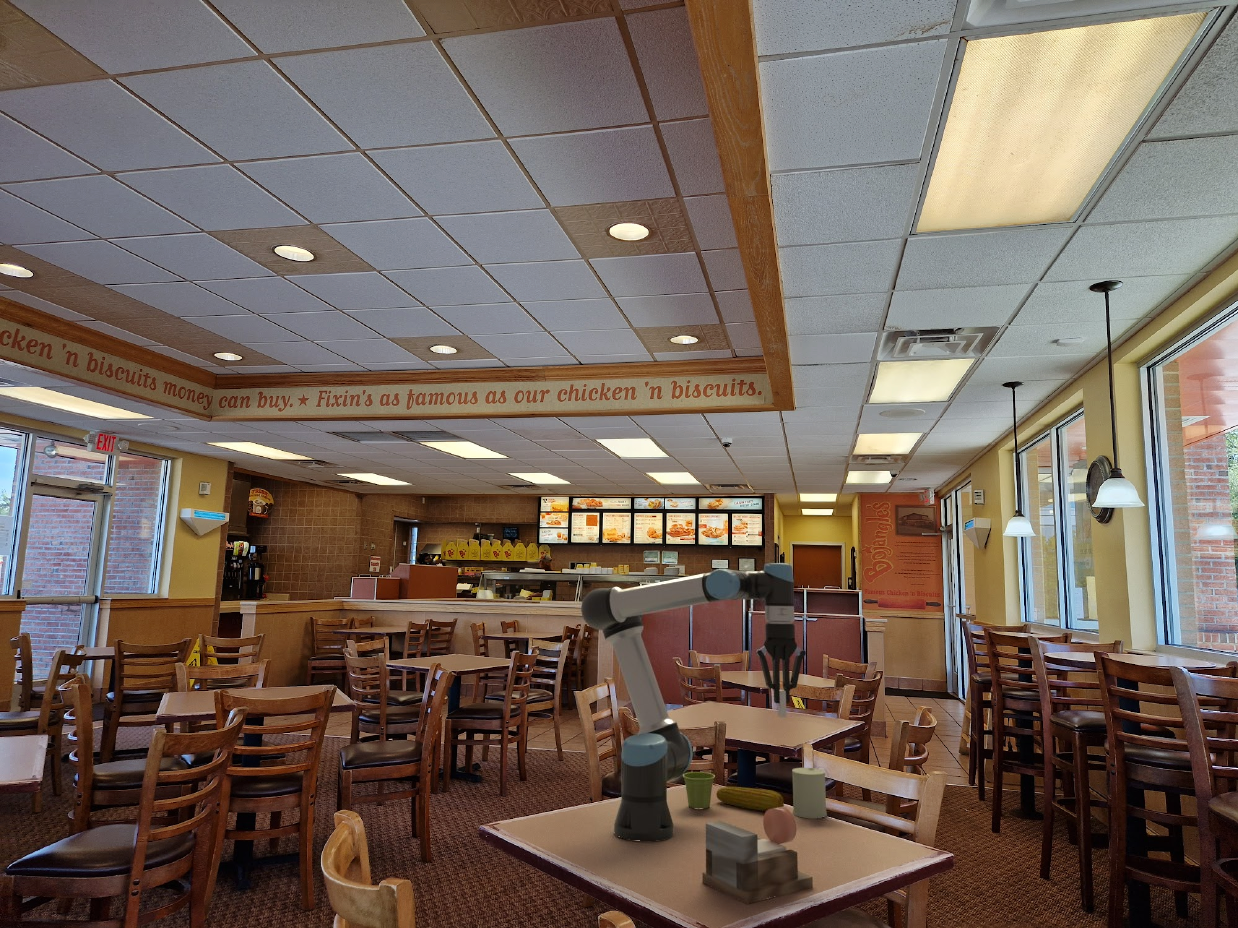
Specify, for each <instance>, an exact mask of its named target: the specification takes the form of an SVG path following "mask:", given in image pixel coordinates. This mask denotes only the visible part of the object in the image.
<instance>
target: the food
mask: <svg viewBox="0 0 1238 928" xmlns="http://www.w3.org/2000/svg"><path fill="white" fill-rule="evenodd" d="M715 795H716V798H717V799H718V800H719V801H720V802H721V803H723V804H725V805H729V804H730V805H729V806H733V805H734V806H733V807H738V806H740V807H739V808H741V807H743V809H747V810H753V811H755V810H756V811H759V812H765V813H766V811H767V810H769V809H773V808H778V807H785V804H784V797H783V796H782V795H781V794H780V793H779V792H777V791H774V790H770V789H763V788H761V789H759V788H753V787H752V788H751V787H741V786H738V787H737V786H723V787H720V788H718V789H717V791H716V794H715Z"/></svg>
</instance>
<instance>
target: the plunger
mask: <svg viewBox="0 0 1238 928" xmlns="http://www.w3.org/2000/svg"><path fill="white" fill-rule="evenodd" d="M762 822H763V829H764V833H765V835H766V837H767V839H765V838H761V839H760V840H758V856H763V855H767V854H772V853H776V852H781V851H786V850H787V846H786V845H782V844H787V843H790V842H792V841H794V839H795V837H796V836H797V835H796V834H797V829H798V828H797V823H796V819H795V815H794V814H793V812H791V811H790V809H788V808H787V807H785V806H784V807H778V808H773V809H769V810H767V811H766V812H765V813H764V815H763V821H762Z"/></svg>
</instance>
